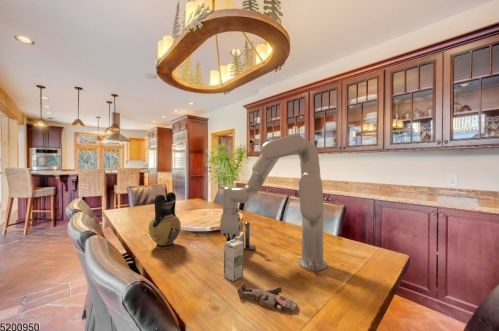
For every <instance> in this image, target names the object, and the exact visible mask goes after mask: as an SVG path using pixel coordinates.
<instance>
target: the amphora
mask: <svg viewBox="0 0 499 331" xmlns="http://www.w3.org/2000/svg"><path fill="white" fill-rule="evenodd" d="M153 201H154V217H153V218H152V219H151V220H150V222H149V224H148V232H149V237H150V238H151V240H152V241H153V242H154V243H156V246H155V247H156V249H164V250H165V249H170V248H172V247H174V245H175V244H174V241H175V240H177V238H178V236H179V234H180V232H181V227H182V226H181V221H180V218H179V217H178V216H177V215H176V201H177V196H176V193H174V192H172V191H170V192H168V193H167V194H166V196H165V195H163V194H157V195H156V196H155V197H154V200H153Z"/></svg>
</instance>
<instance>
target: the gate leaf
mask: <svg viewBox="0 0 499 331" xmlns="http://www.w3.org/2000/svg"><path fill="white" fill-rule="evenodd" d="M234 240H238V241H241V242H243V249H245V232H244V231H240V236H238V237H235V238H234Z"/></svg>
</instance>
